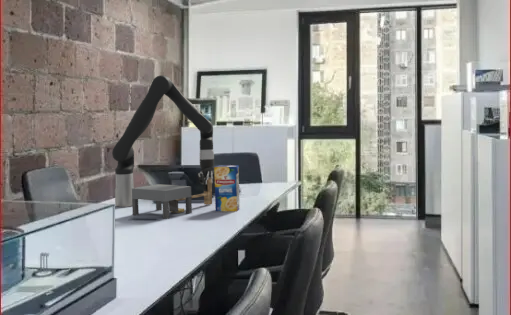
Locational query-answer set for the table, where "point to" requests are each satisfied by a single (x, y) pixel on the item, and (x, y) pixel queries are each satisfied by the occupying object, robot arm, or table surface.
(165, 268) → the table surface
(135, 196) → the charcoal table
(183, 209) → the brass token
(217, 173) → the blue yellow food box
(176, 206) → the oak rake
